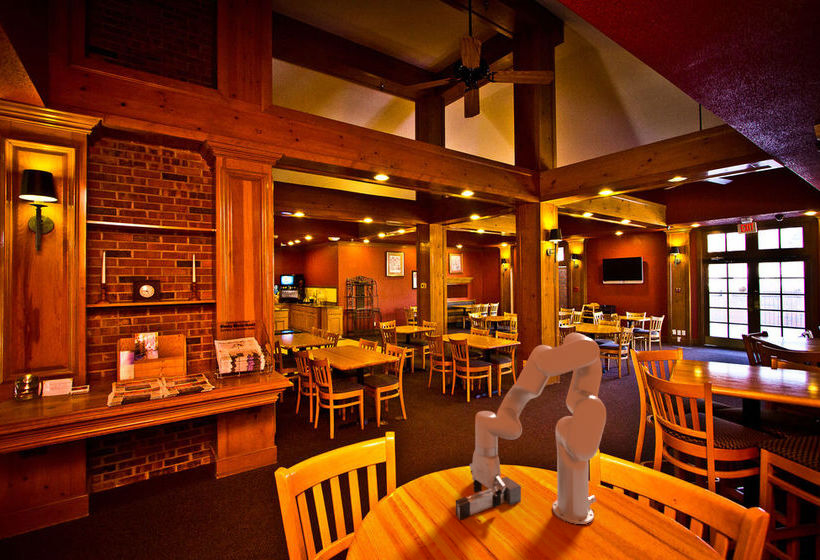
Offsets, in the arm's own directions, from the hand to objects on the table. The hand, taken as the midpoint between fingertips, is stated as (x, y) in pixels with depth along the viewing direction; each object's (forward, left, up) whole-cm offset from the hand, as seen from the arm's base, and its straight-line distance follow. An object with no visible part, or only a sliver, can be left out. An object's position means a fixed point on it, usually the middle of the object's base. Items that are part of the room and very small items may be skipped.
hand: (486, 498), depth 128 cm
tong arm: (+3, +1, -3) cm, 4 cm away
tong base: (0, 0, -3) cm, 3 cm away
